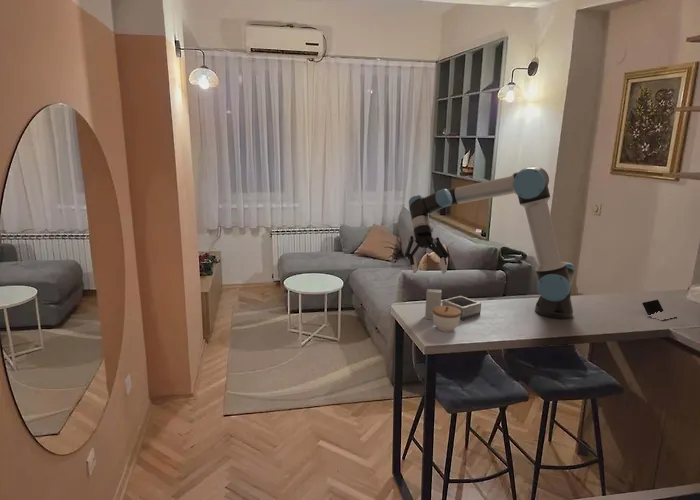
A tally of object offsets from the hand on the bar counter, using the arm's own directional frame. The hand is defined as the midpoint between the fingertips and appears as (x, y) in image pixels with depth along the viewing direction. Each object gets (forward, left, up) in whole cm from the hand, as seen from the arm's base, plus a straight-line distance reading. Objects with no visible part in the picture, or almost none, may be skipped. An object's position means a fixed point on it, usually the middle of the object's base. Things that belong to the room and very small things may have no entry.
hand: (430, 272), depth 198 cm
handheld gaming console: (-58, -83, -18) cm, 103 cm away
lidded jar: (-18, +8, -18) cm, 26 cm away
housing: (-10, -10, -18) cm, 23 cm away
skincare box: (-7, +4, -18) cm, 19 cm away
